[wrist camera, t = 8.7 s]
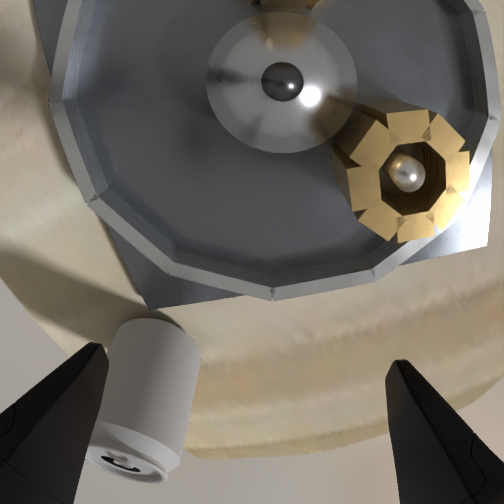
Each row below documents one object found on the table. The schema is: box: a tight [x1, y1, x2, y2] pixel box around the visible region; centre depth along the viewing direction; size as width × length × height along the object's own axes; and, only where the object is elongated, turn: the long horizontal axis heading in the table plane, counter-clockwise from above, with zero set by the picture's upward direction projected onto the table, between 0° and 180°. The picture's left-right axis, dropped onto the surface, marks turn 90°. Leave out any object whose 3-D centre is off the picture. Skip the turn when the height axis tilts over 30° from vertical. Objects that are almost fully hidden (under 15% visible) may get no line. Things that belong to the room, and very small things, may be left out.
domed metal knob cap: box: [206, 12, 357, 153], centre depth 14 cm, size 7×7×3 cm
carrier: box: [33, 0, 501, 310], centre depth 14 cm, size 25×25×4 cm
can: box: [85, 318, 201, 484], centre depth 21 cm, size 8×8×12 cm
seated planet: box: [330, 100, 470, 243], centre depth 15 cm, size 6×6×4 cm
